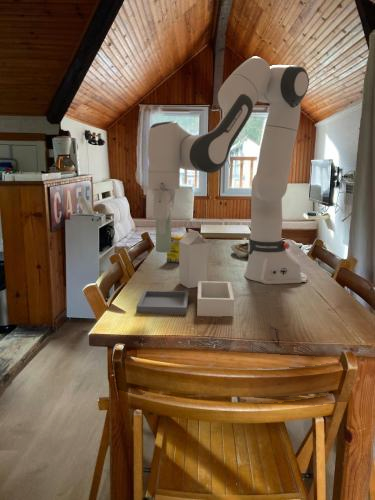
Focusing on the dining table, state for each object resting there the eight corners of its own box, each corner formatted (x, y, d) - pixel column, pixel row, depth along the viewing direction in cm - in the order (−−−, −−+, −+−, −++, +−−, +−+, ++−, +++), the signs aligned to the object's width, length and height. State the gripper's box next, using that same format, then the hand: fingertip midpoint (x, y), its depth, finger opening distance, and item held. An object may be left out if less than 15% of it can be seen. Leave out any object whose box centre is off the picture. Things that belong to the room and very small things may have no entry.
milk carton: (188, 288, 131) (188, 233, 127) (178, 283, 137) (179, 229, 133) (206, 285, 134) (207, 231, 130) (196, 280, 140) (197, 228, 136)
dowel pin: (171, 249, 115) (172, 208, 112) (170, 252, 111) (170, 210, 108) (156, 248, 115) (156, 208, 112) (154, 252, 111) (154, 209, 108)
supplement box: (166, 262, 165) (166, 236, 162) (172, 259, 170) (172, 234, 168) (179, 263, 163) (179, 238, 160) (185, 260, 168) (185, 235, 165)
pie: (290, 264, 166) (291, 252, 165) (226, 264, 166) (226, 252, 165) (277, 249, 193) (278, 239, 192) (222, 249, 194) (222, 239, 192)
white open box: (229, 297, 124) (230, 281, 123) (233, 316, 108) (234, 299, 107) (198, 296, 124) (198, 281, 123) (197, 315, 108) (197, 298, 107)
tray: (188, 297, 123) (188, 291, 123) (186, 314, 110) (186, 307, 109) (144, 296, 124) (143, 290, 123) (136, 313, 110) (136, 306, 110)
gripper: (172, 184, 98) (171, 238, 101) (177, 180, 118) (177, 225, 121) (147, 184, 99) (147, 238, 102) (156, 180, 118) (156, 225, 122)
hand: (163, 231), depth 112 cm, fingers closed on dowel pin, 4 cm apart
